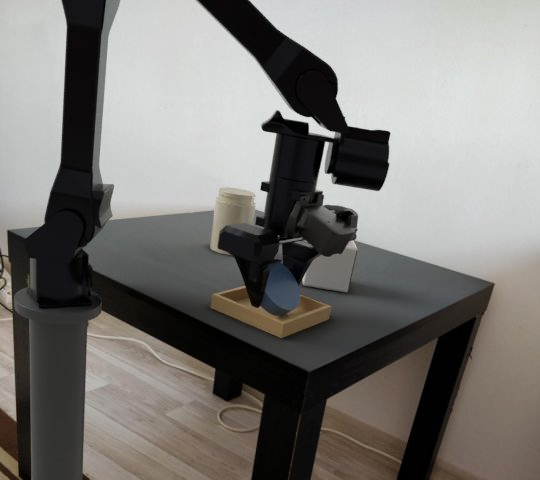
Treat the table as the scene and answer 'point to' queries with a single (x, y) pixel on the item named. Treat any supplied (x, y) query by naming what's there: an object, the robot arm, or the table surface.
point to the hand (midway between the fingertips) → (272, 301)
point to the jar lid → (280, 291)
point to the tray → (280, 326)
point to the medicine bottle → (332, 266)
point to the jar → (231, 212)
